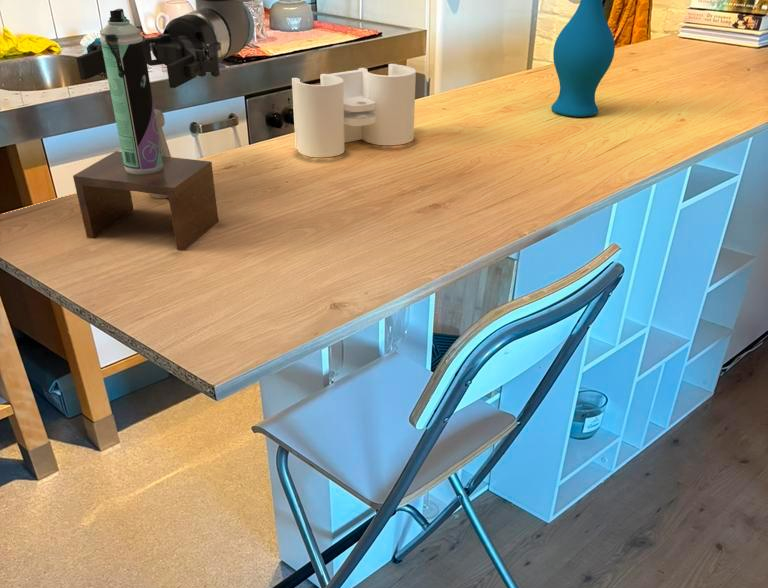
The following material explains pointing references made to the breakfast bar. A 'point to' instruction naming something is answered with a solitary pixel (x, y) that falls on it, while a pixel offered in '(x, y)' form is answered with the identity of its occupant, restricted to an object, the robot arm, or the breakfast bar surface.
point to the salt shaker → (161, 143)
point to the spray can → (131, 94)
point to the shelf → (177, 180)
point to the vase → (582, 59)
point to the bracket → (354, 110)
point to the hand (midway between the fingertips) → (125, 72)
